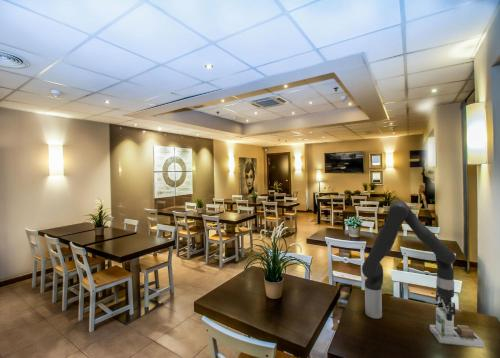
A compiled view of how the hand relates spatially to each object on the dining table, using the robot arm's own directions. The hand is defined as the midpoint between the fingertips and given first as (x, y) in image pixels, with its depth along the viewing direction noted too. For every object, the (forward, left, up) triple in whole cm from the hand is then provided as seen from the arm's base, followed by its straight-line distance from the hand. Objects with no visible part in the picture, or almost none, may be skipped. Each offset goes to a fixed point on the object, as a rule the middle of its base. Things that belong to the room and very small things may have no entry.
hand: (444, 315), depth 134 cm
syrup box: (0, 0, -12) cm, 12 cm away
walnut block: (+1, +9, -11) cm, 14 cm away
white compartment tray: (+1, +4, -11) cm, 12 cm away
